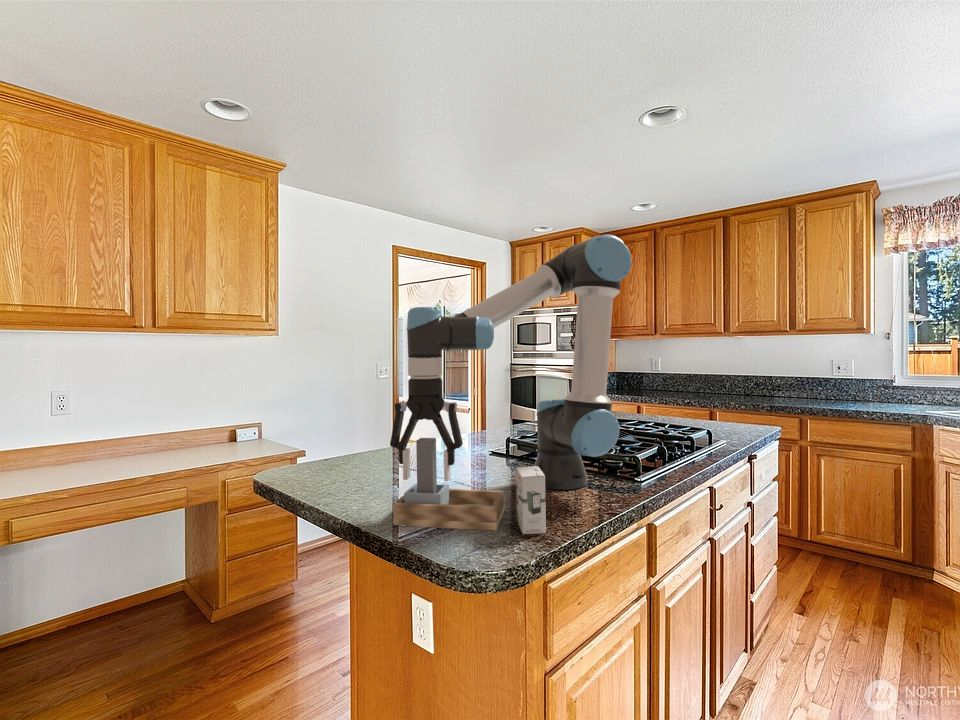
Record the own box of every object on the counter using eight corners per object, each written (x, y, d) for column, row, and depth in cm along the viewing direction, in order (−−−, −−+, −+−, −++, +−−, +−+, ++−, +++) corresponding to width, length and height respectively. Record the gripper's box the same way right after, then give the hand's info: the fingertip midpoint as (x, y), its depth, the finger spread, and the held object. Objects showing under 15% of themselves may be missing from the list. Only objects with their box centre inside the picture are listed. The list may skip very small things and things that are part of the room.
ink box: (515, 520, 108) (514, 465, 108) (538, 519, 109) (537, 465, 109) (522, 534, 100) (521, 475, 100) (546, 533, 100) (546, 474, 100)
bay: (504, 510, 115) (504, 490, 115) (496, 530, 102) (496, 508, 102) (412, 506, 119) (412, 487, 119) (393, 525, 106) (393, 504, 106)
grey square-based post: (449, 503, 115) (448, 436, 115) (440, 514, 107) (439, 442, 107) (415, 502, 116) (414, 435, 116) (404, 513, 108) (403, 442, 108)
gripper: (475, 376, 113) (477, 476, 113) (385, 376, 117) (387, 473, 117) (469, 378, 106) (471, 485, 106) (372, 378, 109) (374, 481, 110)
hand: (426, 478), depth 112 cm, fingers open, 9 cm apart
